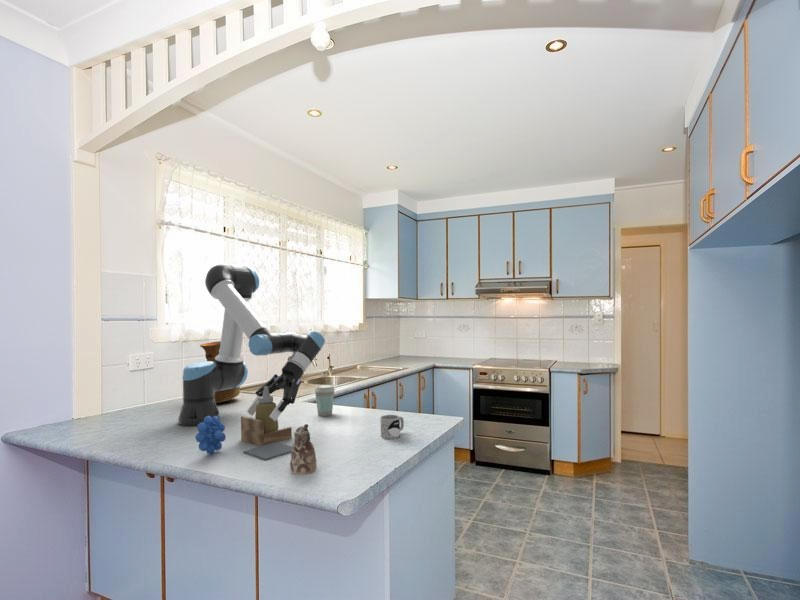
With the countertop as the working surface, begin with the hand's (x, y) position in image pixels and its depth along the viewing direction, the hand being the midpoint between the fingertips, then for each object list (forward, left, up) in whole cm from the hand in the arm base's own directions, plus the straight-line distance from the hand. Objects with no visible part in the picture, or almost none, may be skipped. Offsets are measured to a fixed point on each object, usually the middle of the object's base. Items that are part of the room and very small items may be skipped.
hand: (260, 416), depth 149 cm
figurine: (+34, -9, -8) cm, 36 cm away
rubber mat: (+13, -5, -8) cm, 16 cm away
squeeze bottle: (0, +2, -8) cm, 9 cm away
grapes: (+1, -17, -8) cm, 19 cm away
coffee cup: (-10, +37, -8) cm, 39 cm away
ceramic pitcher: (-74, +24, -8) cm, 78 cm away
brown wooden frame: (0, +2, -8) cm, 9 cm away
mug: (+33, +31, -8) cm, 46 cm away
